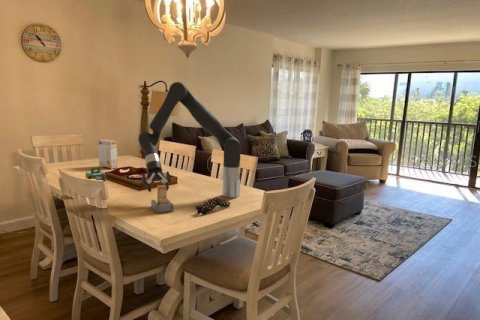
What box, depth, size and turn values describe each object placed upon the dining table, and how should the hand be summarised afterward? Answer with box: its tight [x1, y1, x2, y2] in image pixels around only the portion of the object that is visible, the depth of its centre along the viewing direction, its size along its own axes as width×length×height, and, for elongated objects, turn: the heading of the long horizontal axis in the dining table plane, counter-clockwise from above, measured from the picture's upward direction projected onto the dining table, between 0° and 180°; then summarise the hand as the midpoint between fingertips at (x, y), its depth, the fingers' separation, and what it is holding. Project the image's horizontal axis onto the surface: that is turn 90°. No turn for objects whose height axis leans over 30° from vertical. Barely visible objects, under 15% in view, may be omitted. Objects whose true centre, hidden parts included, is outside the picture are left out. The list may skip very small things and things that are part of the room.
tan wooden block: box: [156, 184, 168, 205], centre depth 172 cm, size 4×4×11 cm
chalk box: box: [85, 166, 107, 182], centre depth 196 cm, size 9×9×15 cm
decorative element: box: [194, 196, 231, 216], centre depth 175 cm, size 22×5×6 cm, turn 141°
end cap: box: [150, 198, 174, 214], centre depth 173 cm, size 11×8×4 cm
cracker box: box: [98, 138, 118, 169], centre depth 264 cm, size 14×6×21 cm, turn 58°
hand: (158, 190), depth 177 cm, fingers open, 8 cm apart
